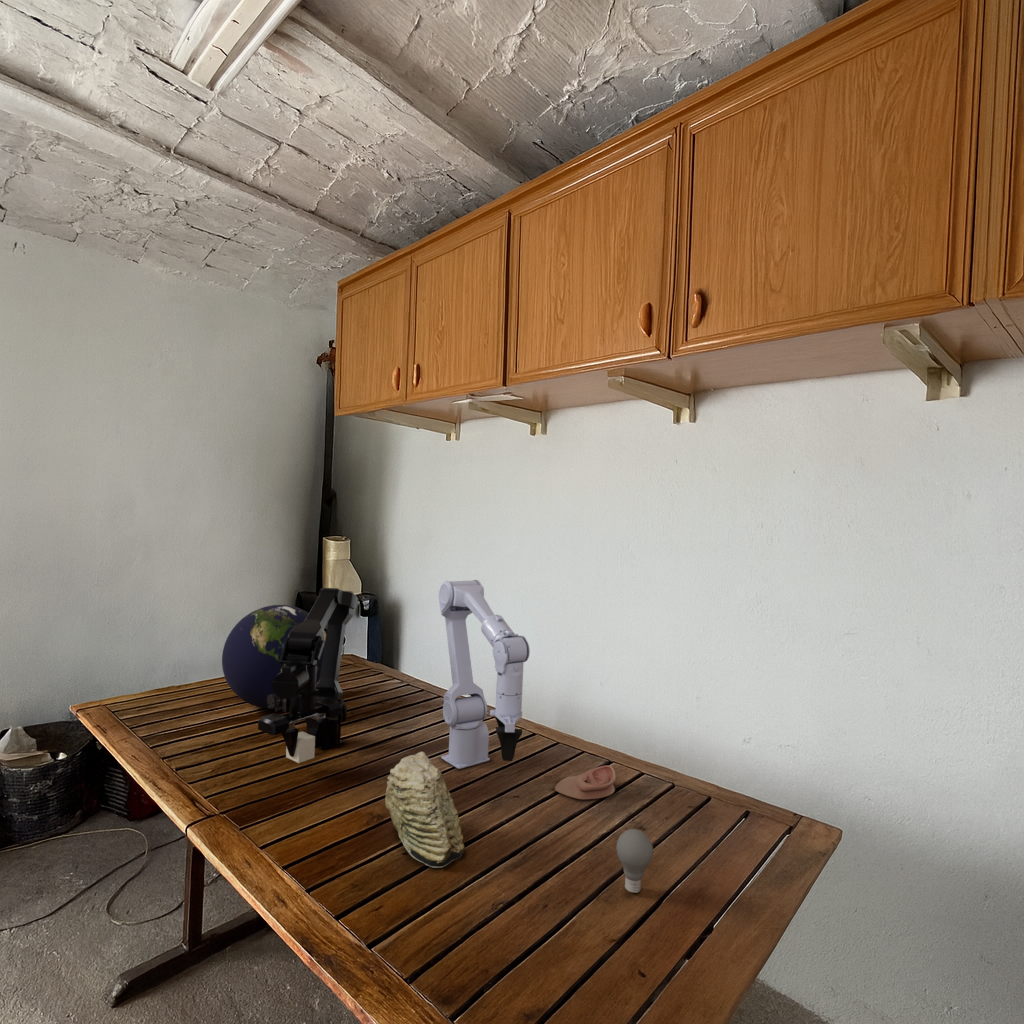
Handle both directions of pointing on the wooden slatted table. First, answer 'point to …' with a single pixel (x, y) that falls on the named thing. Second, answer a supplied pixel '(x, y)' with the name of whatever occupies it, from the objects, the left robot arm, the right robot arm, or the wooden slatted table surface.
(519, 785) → the wooden slatted table surface
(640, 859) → the light bulb
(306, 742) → the beige cube
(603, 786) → the anatomical model
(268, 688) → the globe
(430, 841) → the fossil
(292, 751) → the left robot arm
